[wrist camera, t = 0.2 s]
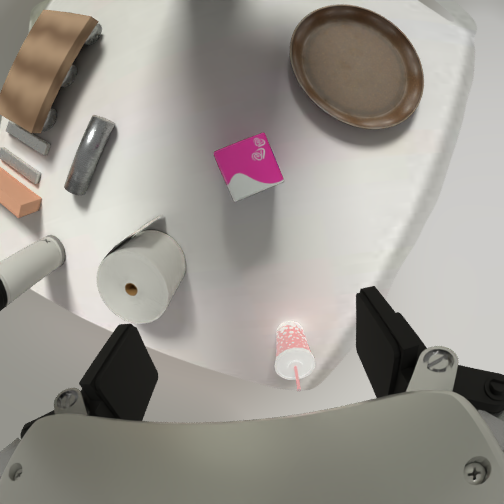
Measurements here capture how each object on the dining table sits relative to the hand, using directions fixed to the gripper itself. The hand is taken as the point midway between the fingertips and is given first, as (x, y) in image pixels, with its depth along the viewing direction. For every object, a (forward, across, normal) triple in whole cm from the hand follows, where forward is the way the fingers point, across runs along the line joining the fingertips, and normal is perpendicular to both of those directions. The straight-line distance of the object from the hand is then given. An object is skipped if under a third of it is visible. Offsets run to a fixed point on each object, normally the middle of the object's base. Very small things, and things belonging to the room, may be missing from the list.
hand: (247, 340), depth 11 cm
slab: (+27, +29, -32) cm, 51 cm away
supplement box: (+31, 0, -6) cm, 32 cm away
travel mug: (+31, +38, 0) cm, 49 cm away
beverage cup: (+31, -2, +22) cm, 38 cm away
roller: (+31, +23, -14) cm, 41 cm away
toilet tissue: (+31, +17, +5) cm, 36 cm away
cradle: (+31, +40, -21) cm, 54 cm away
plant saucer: (+31, -19, -19) cm, 41 cm away
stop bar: (+31, +45, -15) cm, 56 cm away
